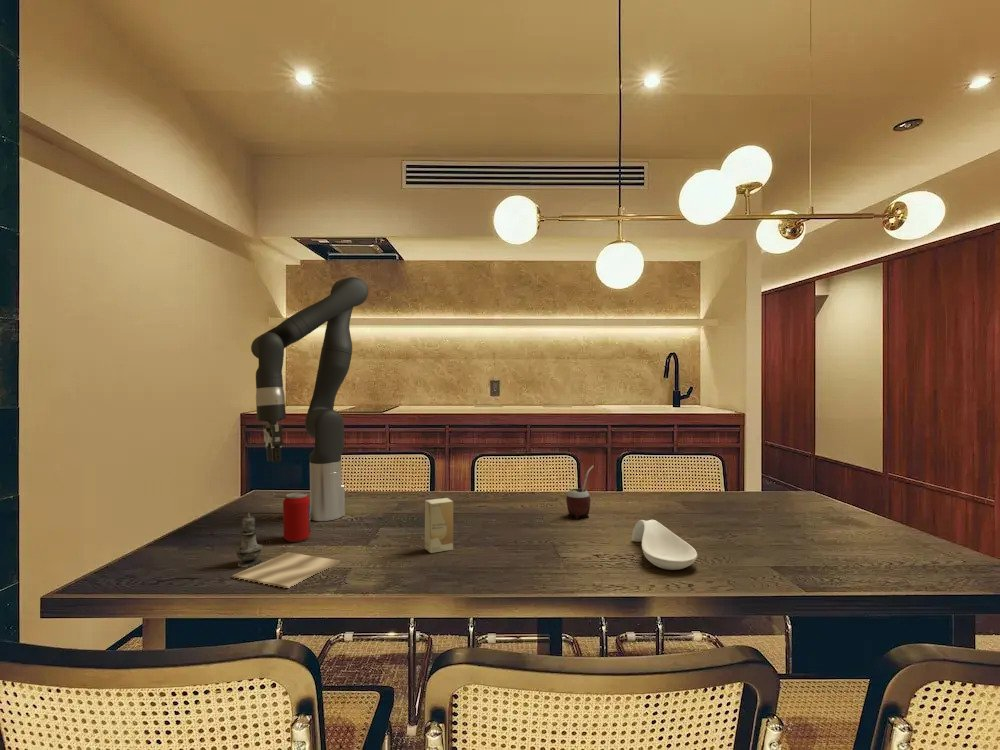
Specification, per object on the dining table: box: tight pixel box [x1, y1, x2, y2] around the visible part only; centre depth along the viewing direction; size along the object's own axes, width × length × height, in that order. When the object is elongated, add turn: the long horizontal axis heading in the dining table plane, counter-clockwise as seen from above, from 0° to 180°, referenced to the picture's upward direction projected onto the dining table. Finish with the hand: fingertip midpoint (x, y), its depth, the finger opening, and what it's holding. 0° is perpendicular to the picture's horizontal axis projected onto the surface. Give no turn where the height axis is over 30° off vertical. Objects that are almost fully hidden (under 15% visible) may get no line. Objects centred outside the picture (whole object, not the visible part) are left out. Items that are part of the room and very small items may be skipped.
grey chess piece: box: [234, 512, 263, 567], centre depth 126 cm, size 6×6×12 cm
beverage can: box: [282, 491, 311, 543], centre depth 144 cm, size 7×7×12 cm
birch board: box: [231, 551, 341, 589], centre depth 122 cm, size 16×16×1 cm
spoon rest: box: [631, 519, 698, 571], centre depth 127 cm, size 24×12×7 cm, turn 8°
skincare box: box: [424, 497, 454, 554], centre depth 134 cm, size 6×4×12 cm
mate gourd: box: [565, 465, 594, 521], centre depth 162 cm, size 8×8×15 cm
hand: (274, 461), depth 152 cm, fingers open, 8 cm apart
